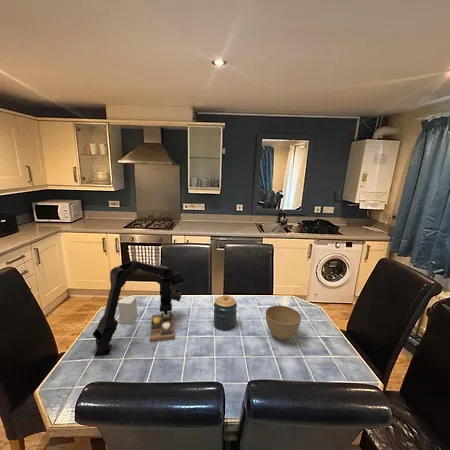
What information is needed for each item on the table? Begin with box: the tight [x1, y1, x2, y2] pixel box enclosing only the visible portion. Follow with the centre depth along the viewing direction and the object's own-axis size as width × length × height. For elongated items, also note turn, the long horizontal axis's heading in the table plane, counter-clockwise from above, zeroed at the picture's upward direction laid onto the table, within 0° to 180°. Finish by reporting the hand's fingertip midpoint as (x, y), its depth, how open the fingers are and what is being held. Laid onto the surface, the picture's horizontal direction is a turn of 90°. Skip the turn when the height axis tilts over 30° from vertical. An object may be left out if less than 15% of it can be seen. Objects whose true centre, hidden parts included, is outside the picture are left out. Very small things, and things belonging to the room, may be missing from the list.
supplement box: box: [117, 296, 138, 325], centre depth 142 cm, size 7×7×13 cm
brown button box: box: [149, 311, 176, 343], centre depth 136 cm, size 21×12×4 cm, turn 13°
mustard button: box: [153, 317, 161, 325], centre depth 135 cm, size 4×4×2 cm
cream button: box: [163, 322, 170, 331], centre depth 130 cm, size 4×4×2 cm
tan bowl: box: [265, 305, 302, 341], centre depth 132 cm, size 18×18×12 cm
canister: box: [213, 294, 238, 331], centre depth 140 cm, size 13×13×18 cm
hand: (166, 314), depth 141 cm, fingers closed, pressing on sage button
